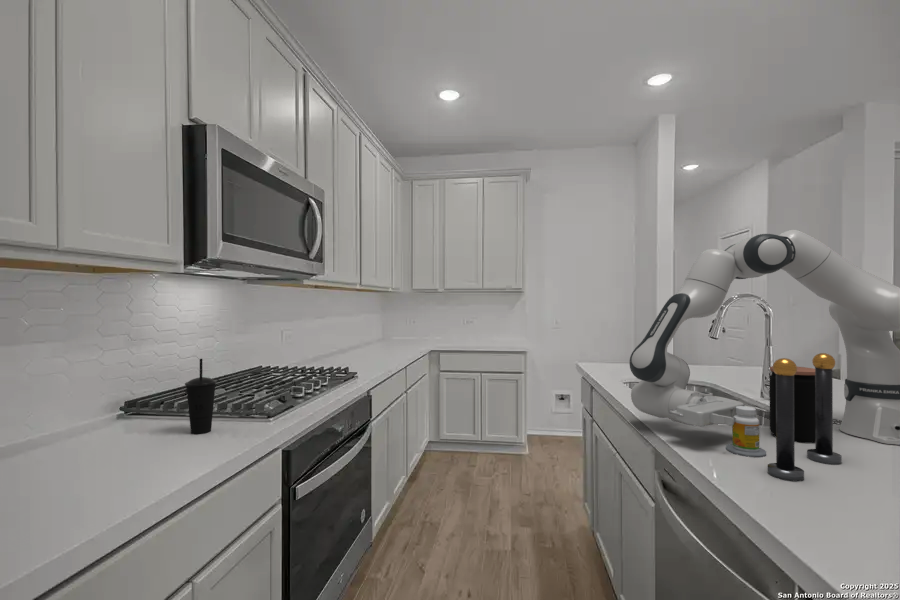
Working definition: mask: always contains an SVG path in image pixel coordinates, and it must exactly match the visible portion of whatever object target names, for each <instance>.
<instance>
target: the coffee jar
mask: <svg viewBox="0 0 900 600" xmlns="http://www.w3.org/2000/svg"><path fill="white" fill-rule="evenodd" d="M769 371H770V372H771V374H770V375H769V430H770V432H771V434H772V435H773V436H774V435H775V436H776V374H775V372H774V370H773V365H772V366H769ZM775 436H774V437H775ZM795 441H797V442H796V443H805V442H812V443H815V368H812V367H804V366H797V372H796V374H795V375H794V442H795Z"/></svg>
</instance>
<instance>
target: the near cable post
mask: <svg viewBox="0 0 900 600" xmlns="http://www.w3.org/2000/svg"><path fill="white" fill-rule="evenodd" d="M772 366H773V370H774V372H775V374H776V437H775V439H776V440H775V441H776V447H775V451H776V452H775V453H776V456H775V457H776V459H775V461H776V462H770V463H768V464H767V474H768V475H769V476H771V477H772V478H776V479H778V478H779V480H783V481H789V482H802V481H804V480H805V471H804V469H803V468H801V467H798V466H796V464H795V461H796V460H795V459H796V458H795V441H794V375H795V374H796V372H797V367H798V366H797V365H796V363H795V362H794V361H793V360H791V359H790V358H786V357H782V358H778V359H777V360H775V361H774V362H773V365H772Z"/></svg>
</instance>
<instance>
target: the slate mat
mask: <svg viewBox="0 0 900 600" xmlns="http://www.w3.org/2000/svg"><path fill="white" fill-rule="evenodd" d="M725 449H726V451H727V452H729V453H731V454H735V455H737V454H738V455H737V456H743V457H748V456H749V457H750V458H763V456H764V457H767V451H766V450H765V449H764V448H762V447H759V451H757V452H745V451H741V450H738V449H735V448H734V447H733V445H732V443H727V445H725Z"/></svg>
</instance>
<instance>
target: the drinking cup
mask: <svg viewBox="0 0 900 600" xmlns="http://www.w3.org/2000/svg"><path fill="white" fill-rule="evenodd" d="M216 384H217V380H216V379H213V378H210V377H206V376H205V377H204V376H203V358H199V377H196V378H192V379H190V380H188V381H186V382H184V386H185V388H186V399H187V406H188V408H187V409H188V417H189V418H188V419H189V427H190V434H192V435H203V434H208V433H210V432H211V431H212V423H213V415H214V402H215V394H216Z"/></svg>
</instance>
